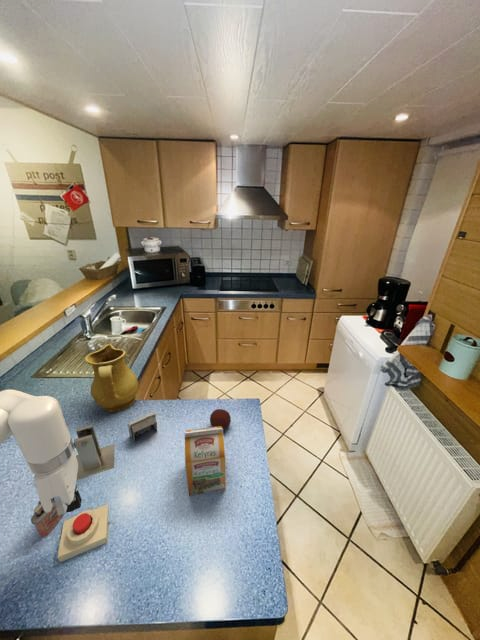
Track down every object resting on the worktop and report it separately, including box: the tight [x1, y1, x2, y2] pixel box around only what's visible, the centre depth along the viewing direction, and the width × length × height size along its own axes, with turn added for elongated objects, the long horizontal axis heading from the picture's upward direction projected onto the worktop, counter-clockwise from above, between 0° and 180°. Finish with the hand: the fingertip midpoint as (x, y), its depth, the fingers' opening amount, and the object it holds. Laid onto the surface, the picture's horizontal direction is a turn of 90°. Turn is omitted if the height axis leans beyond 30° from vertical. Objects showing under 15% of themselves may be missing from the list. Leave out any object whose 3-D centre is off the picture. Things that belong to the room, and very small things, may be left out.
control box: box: [56, 504, 110, 563], centre depth 62 cm, size 10×8×4 cm
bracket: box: [73, 424, 116, 481], centre depth 77 cm, size 12×9×14 cm
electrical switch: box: [127, 411, 158, 442], centre depth 87 cm, size 9×5×9 cm, turn 127°
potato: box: [209, 408, 232, 431], centre depth 92 cm, size 7×8×7 cm
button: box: [73, 513, 91, 534], centre depth 61 cm, size 4×4×2 cm
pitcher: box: [84, 343, 139, 413], centre depth 99 cm, size 17×19×25 cm
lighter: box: [30, 499, 65, 538], centre depth 63 cm, size 8×3×10 cm, turn 170°
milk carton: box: [184, 426, 227, 497], centre depth 73 cm, size 11×11×19 cm
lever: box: [73, 430, 93, 449], centre depth 74 cm, size 14×3×3 cm
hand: (73, 506), depth 58 cm, fingers closed
